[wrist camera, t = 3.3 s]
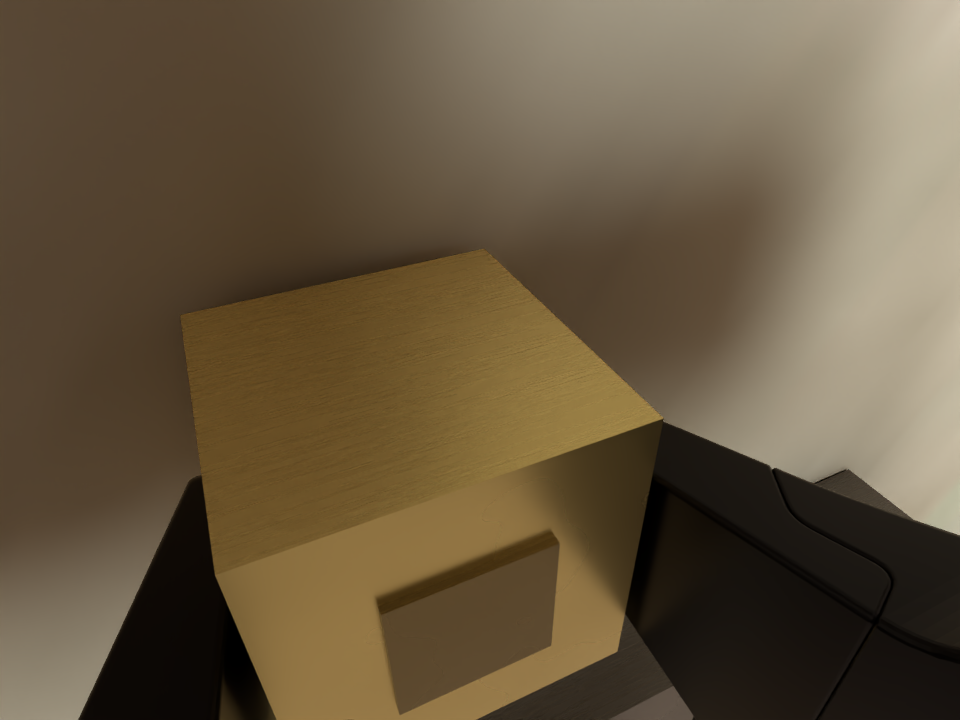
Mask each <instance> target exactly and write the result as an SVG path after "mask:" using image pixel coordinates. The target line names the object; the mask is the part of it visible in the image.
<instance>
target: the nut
mask: <svg viewBox="0 0 960 720" xmlns="http://www.w3.org/2000/svg"><path fill="white" fill-rule="evenodd" d="M180 318H181V325H182V333H183V340H184V348H185V355H186V363H187V370H188V377H189V385H190V392H191V400H192V407H193V415H194V422H195V430H196V437H197V445H198V452H199V460H200V467H201V475H202V482H203V489H204V497H205V504H206V512H207V519H208V527H209V534H210V542H211V549H212V557H213V564H214V572H215V576H216V579H217V581H218V583H219V586H220V588H221V590H222V593H223V595H224V598H225V600H226V602H227V605H228V607H229V609H230V612H231V614H232V616H233V619H234V621H235V623H236V626H237V628H238V630H239V633H240V635H241V637H242V640H243V642H244V644H245V647H246V649H247V652H248V654H249V656H250V659H251V661H252V663H253V666H254V668H255V670H256V673H257V675H258V677H259V680H260V682H261V684H262V687H263V689H264V691H265V694H266V696H267V698H268V701H269V703H270V706H271V708H272V710H273V713H274V715H275V717H276V720H476V719H478V718H481V717H483V716H485V715H487V714H489V713H491V712H493V711H495V710H497V709H499V708H501V707H503V706H505V705H508V704H510V703H512V702H514V701H516V700H518V699H520V698H522V697H524V696H526V695H528V694H530V693H532V692H535V691H537V690H539V689H541V688H543V687H545V686H547V685H549V684H551V683H553V682H555V681H557V680H559V679H561V678H564V677H566V676H568V675H570V674H572V673H574V672H576V671H578V670H580V669H582V668H584V667H586V666H588V665H591V664H593V663H595V662H597V661H599V660H601V659H603V658H605V657H607V656H609V655H611V654H613V653H615V652H617V651H618V646H619V641H620V636H621V631H622V626H623V621H624V616H625V611H626V605H627V600H628V595H629V590H630V585H631V580H632V575H633V570H634V565H635V560H636V555H637V550H638V545H639V540H640V535H641V530H642V525H643V520H644V515H645V510H646V505H647V500H648V495H649V490H650V485H651V480H652V475H653V470H654V465H655V460H656V455H657V450H658V445H659V440H660V434H661V429H662V424H663V419H664V418H663V417H662V416H661V415H660V414H658V413H657V412H656V411H655V410H654V409H653V408H652V407H651V406H650V405H649V404H648V403H647V402H646V401H645V400H644V399H643V398H642V397H641V396H639V395H638V394H637V393H636V392H635V391H634V390H633V389H632V388H631V387H630V386H629V385H628V384H627V383H626V382H625V381H624V380H623V379H621V378H620V377H619V376H618V375H617V374H616V373H615V372H614V371H613V370H612V369H611V368H610V367H609V366H608V365H607V364H606V363H605V362H603V361H602V360H601V359H600V358H599V357H598V356H597V355H596V354H595V353H594V352H593V351H592V350H591V349H590V348H589V347H588V346H587V345H586V344H584V343H583V342H582V341H581V340H580V339H579V338H578V337H577V336H576V335H575V334H574V333H573V332H572V331H571V330H570V329H569V328H568V327H566V326H565V325H564V324H563V323H562V322H561V321H560V320H559V319H558V318H557V317H556V316H555V315H554V314H553V313H552V312H551V311H550V310H549V309H547V308H546V307H545V306H544V305H543V304H542V303H541V302H540V301H539V300H538V299H537V298H536V297H535V296H534V295H533V294H532V293H531V292H529V291H528V290H527V289H526V288H525V287H524V286H523V285H522V284H521V283H520V282H519V281H518V280H517V279H516V278H515V277H514V276H513V275H511V274H510V273H509V272H508V271H507V270H506V269H505V268H504V267H503V266H502V265H501V264H500V263H499V262H498V261H497V260H496V259H495V258H494V257H492V256H491V255H490V254H489V253H488V252H487V251H486V250H485V249H480V250H476V251H471V252H466V253H462V254H457V255H453V256H448V257H444V258H439V259H434V260H430V261H425V262H421V263H416V264H411V265H407V266H402V267H398V268H393V269H389V270H384V271H379V272H375V273H370V274H366V275H361V276H356V277H352V278H347V279H343V280H338V281H333V282H329V283H324V284H320V285H315V286H311V287H306V288H301V289H297V290H292V291H288V292H283V293H278V294H274V295H269V296H265V297H260V298H256V299H251V300H246V301H242V302H237V303H233V304H228V305H223V306H219V307H214V308H210V309H205V310H201V311H196V312H191V313H187V314H182V315H180Z"/></svg>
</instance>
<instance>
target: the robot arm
mask: <svg viewBox="0 0 960 720" xmlns="http://www.w3.org/2000/svg"><path fill="white" fill-rule="evenodd" d="M625 615H626V616H627V618H628V619H629V621H630V622H631V623H632V625H633V626H634V628H635V629H636V631H637V632H638V634H639V635H640V637H641V638H642V640H643V641H644V643H645V644H646V646H647V647H648V649H649V650H650V652H651V653H652V655H653V656H654V658H655V659H656V661H657V662H658V664H659V665H660V667H661V668H662V670H663V671H664V673H665V674H666V676H667V677H668V679H669V680H670V682H671V683H672V685H673V686H674V688H675V689H676V691H677V692H678V694H679V695H680V697H681V698H682V700H683V701H684V703H685V704H686V706H687V707H688V708H689V710H690V711H691V713H692V714H693V716H694V717H695V719H696V720H960V535H957V534H954V533H951V532H948V531H945V530H942V529H939V528H936V527H933V526H930V525H927V524H924V523H921V522H918V521H915V520H912V519H909V518H906V517H903V516H901V515H898V514H895V513H892V512H889V511H886V510H883V509H880V508H878V507H875V506H872V505H869V504H866V503H864V502H861V501H858V500H855V499H852V498H850V497H847V496H844V495H842V494H839V493H836V492H834V491H831V490H829V489H826V488H824V487H821V486H819V485H816V484H814V483H811V482H809V481H806V480H803V479H801V478H799V477H796V476H794V475H791V474H789V473H787V472H784V471H782V470H779V469H777V468H774V469H771V467H770V466H769V465H767V464H764V463H762V462H760V461H757V460H755V459H752V458H750V457H748V456H745V455H743V454H740V453H738V452H736V451H733V450H731V449H728V448H726V447H724V446H721V445H719V444H716V443H714V442H711V441H709V440H707V439H704V438H702V437H699V436H697V435H695V434H692V433H690V432H687V431H685V430H683V429H680V428H678V427H675V426H673V425H671V424H668V423H666V422H663V424H662V429H661V434H660V440H659V445H658V450H657V455H656V460H655V465H654V470H653V475H652V480H651V485H650V490H649V495H648V500H647V505H646V510H645V515H644V520H643V525H642V530H641V535H640V540H639V545H638V550H637V555H636V560H635V565H634V570H633V575H632V580H631V585H630V590H629V595H628V600H627V605H626V611H625ZM78 720H276V717H275V715H274V713H273V710H272V708H271V706H270V703H269V701H268V698H267V696H266V694H265V691H264V689H263V687H262V684H261V682H260V680H259V677H258V675H257V673H256V670H255V668H254V666H253V663H252V661H251V659H250V656H249V654H248V652H247V649H246V647H245V644H244V642H243V640H242V637H241V635H240V633H239V630H238V628H237V626H236V623H235V621H234V619H233V616H232V614H231V612H230V609H229V607H228V605H227V602H226V600H225V598H224V595H223V593H222V590H221V588H220V586H219V583H218V581H217V579H216V576H215V572H214V564H213V557H212V549H211V542H210V534H209V527H208V519H207V512H206V504H205V497H204V489H203V482H202V475H200V476H197V477H194V478H192V479H191V480H190V481H189V482H188V484H187V486H186V489H185V491H184V493H183V495H182V497H181V499H180V501H179V504H178V506H177V508H176V510H175V512H174V514H173V517H172V519H171V521H170V523H169V525H168V527H167V530H166V532H165V534H164V536H163V538H162V540H161V542H160V545H159V547H158V549H157V551H156V553H155V555H154V558H153V560H152V562H151V564H150V566H149V568H148V571H147V573H146V575H145V577H144V579H143V581H142V583H141V586H140V588H139V590H138V592H137V594H136V596H135V599H134V601H133V603H132V605H131V607H130V609H129V611H128V614H127V616H126V618H125V620H124V622H123V624H122V627H121V629H120V631H119V633H118V635H117V637H116V639H115V642H114V644H113V646H112V648H111V650H110V652H109V655H108V657H107V659H106V661H105V663H104V665H103V668H102V670H101V672H100V674H99V676H98V678H97V680H96V683H95V685H94V687H93V689H92V691H91V693H90V696H89V698H88V700H87V702H86V704H85V706H84V708H83V711H82V713H81V715H80V717H79V719H78Z"/></svg>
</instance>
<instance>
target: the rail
mask: <svg viewBox="0 0 960 720" xmlns="http://www.w3.org/2000/svg"><path fill="white" fill-rule="evenodd" d="M816 485H819V486H821V487H824V488H826V489H829V490H831V491H834V492H836V493H839V494H842V495H844V496H847V497H850V498H852V499H855V500H858V501H861V502H864V503H866V504H869V505H872V506H875V507H878V508H880V509H883V510H886V511H889V512H892V513H895V514H898V515H901V516H903V517H906V518H909V519H912V518H910V517H909V516H908V515H907V514H905V513H904V512H903V511H901V510H900V509H899V508H898V507H896V506H895V505H894V504H892V503H891V502H890V501H889V500H887V499H886V498H885V497H883V496H882V495H881V494H880V493H878V492H877V491H876V490H874V489H873V488H872V487H870V486H869V485H868V484H867V483H865V482H864V481H863V480H861V479H860V478H859V477H858V476H856V475H855V474H854V473H852V472H851V471H850V470H849V469H848V470H846V471H844V472H842V473H839V474H837V475H835V476H832V477H830V478H828V479H825V480H823V481H821V482H819V483H816ZM912 520H913V519H912ZM476 720H696V719H695V717H694V716H693V714H692V713H691V711H690V710H689V708H688V707H687V706H686V704H685V703H684V701H683V700H682V698H681V697H680V695H679V694H678V692H677V691H676V689H675V688H674V686H673V685H672V683H671V682H670V680H669V679H668V677H667V676H666V674H665V673H664V671H663V670H662V668H661V667H660V665H659V664H658V662H657V661H656V659H655V658H654V656H653V655H652V653H651V652H650V650H649V649H648V647H647V646H646V644H645V643H644V641H643V640H642V638H641V637H640V635H639V634H638V632H637V631H636V629H635V628H634V626H633V625H632V623H631V622H630V621H629V619H628V618H627V616H626V615H625V616H624V621H623V626H622V631H621V636H620V641H619V646H618V651H617V652H615V653H613V654H611V655H609V656H607V657H605V658H603V659H601V660H599V661H597V662H595V663H593V664H591V665H588V666H586V667H584V668H582V669H580V670H578V671H576V672H574V673H572V674H570V675H568V676H566V677H564V678H561V679H559V680H557V681H555V682H553V683H551V684H549V685H547V686H545V687H543V688H541V689H539V690H537V691H535V692H532V693H530V694H528V695H526V696H524V697H522V698H520V699H518V700H516V701H514V702H512V703H510V704H508V705H505V706H503V707H501V708H499V709H497V710H495V711H493V712H491V713H489V714H487V715H485V716H483V717H481V718H478V719H476Z"/></svg>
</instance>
